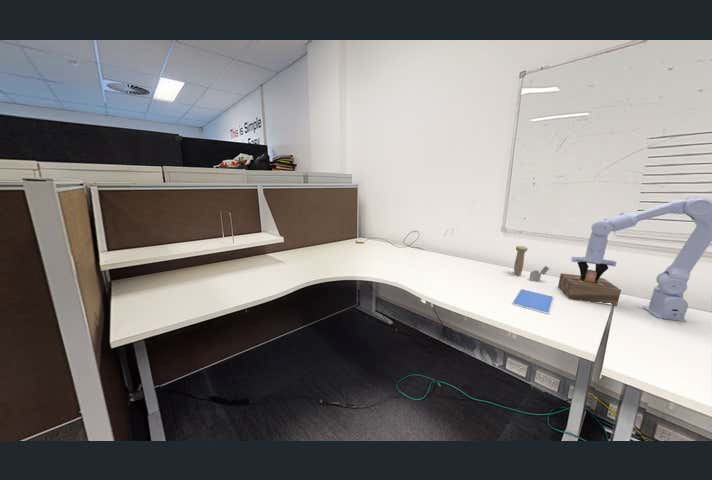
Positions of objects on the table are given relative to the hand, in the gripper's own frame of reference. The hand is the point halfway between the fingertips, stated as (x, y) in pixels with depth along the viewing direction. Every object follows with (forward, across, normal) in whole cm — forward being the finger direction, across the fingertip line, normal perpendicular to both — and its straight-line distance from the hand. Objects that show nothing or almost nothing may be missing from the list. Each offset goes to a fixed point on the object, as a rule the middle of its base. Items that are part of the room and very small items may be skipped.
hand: (588, 279), depth 114 cm
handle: (+8, -23, +18) cm, 30 cm away
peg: (+2, 0, 0) cm, 2 cm away
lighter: (+8, -15, +12) cm, 21 cm away
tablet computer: (+8, -23, -16) cm, 29 cm away
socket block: (+8, 0, 0) cm, 8 cm away
